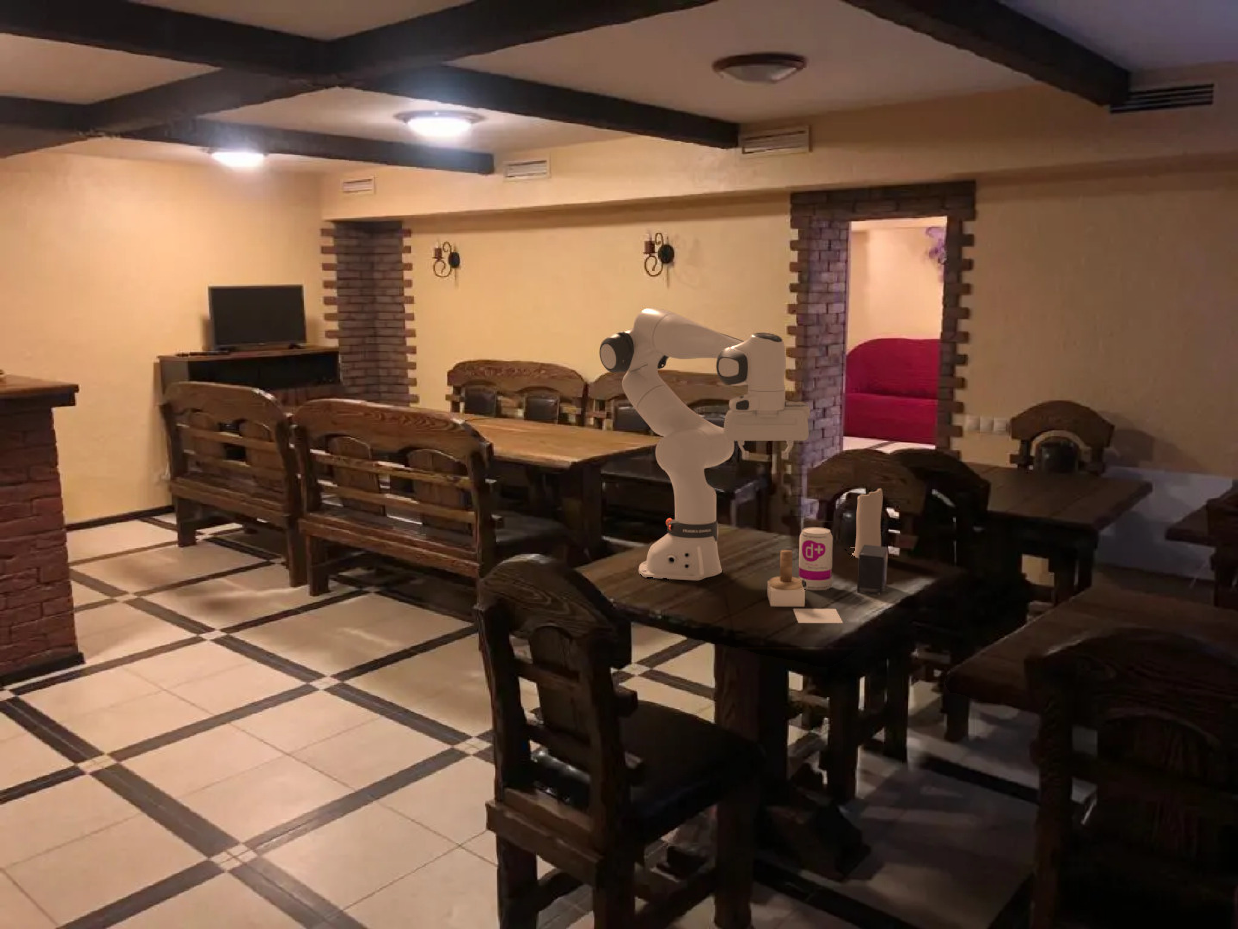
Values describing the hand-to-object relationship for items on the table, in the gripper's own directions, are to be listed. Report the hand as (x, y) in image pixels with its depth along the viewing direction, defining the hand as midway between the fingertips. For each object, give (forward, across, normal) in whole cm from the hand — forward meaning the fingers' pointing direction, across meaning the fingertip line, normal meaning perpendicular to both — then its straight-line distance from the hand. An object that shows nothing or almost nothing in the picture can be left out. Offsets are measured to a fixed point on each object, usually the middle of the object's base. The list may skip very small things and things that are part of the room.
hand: (765, 458), depth 239 cm
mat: (+35, -11, +15) cm, 40 cm away
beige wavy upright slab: (+35, -32, -42) cm, 63 cm away
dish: (+35, -5, +4) cm, 36 cm away
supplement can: (+35, -14, -9) cm, 39 cm away
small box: (+35, -28, -7) cm, 45 cm away
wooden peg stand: (+30, -5, +4) cm, 31 cm away
